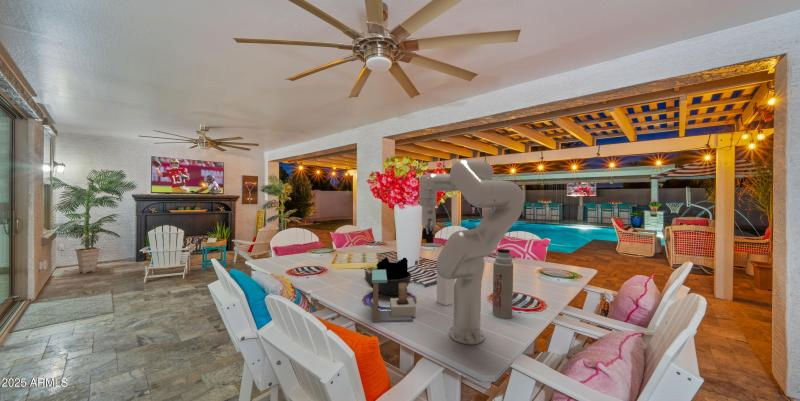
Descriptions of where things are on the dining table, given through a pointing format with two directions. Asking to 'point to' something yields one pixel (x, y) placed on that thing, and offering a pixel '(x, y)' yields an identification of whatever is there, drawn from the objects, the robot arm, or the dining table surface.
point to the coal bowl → (393, 275)
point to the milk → (445, 290)
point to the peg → (402, 294)
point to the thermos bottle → (503, 284)
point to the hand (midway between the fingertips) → (427, 240)
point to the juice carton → (369, 276)
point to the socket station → (397, 311)
